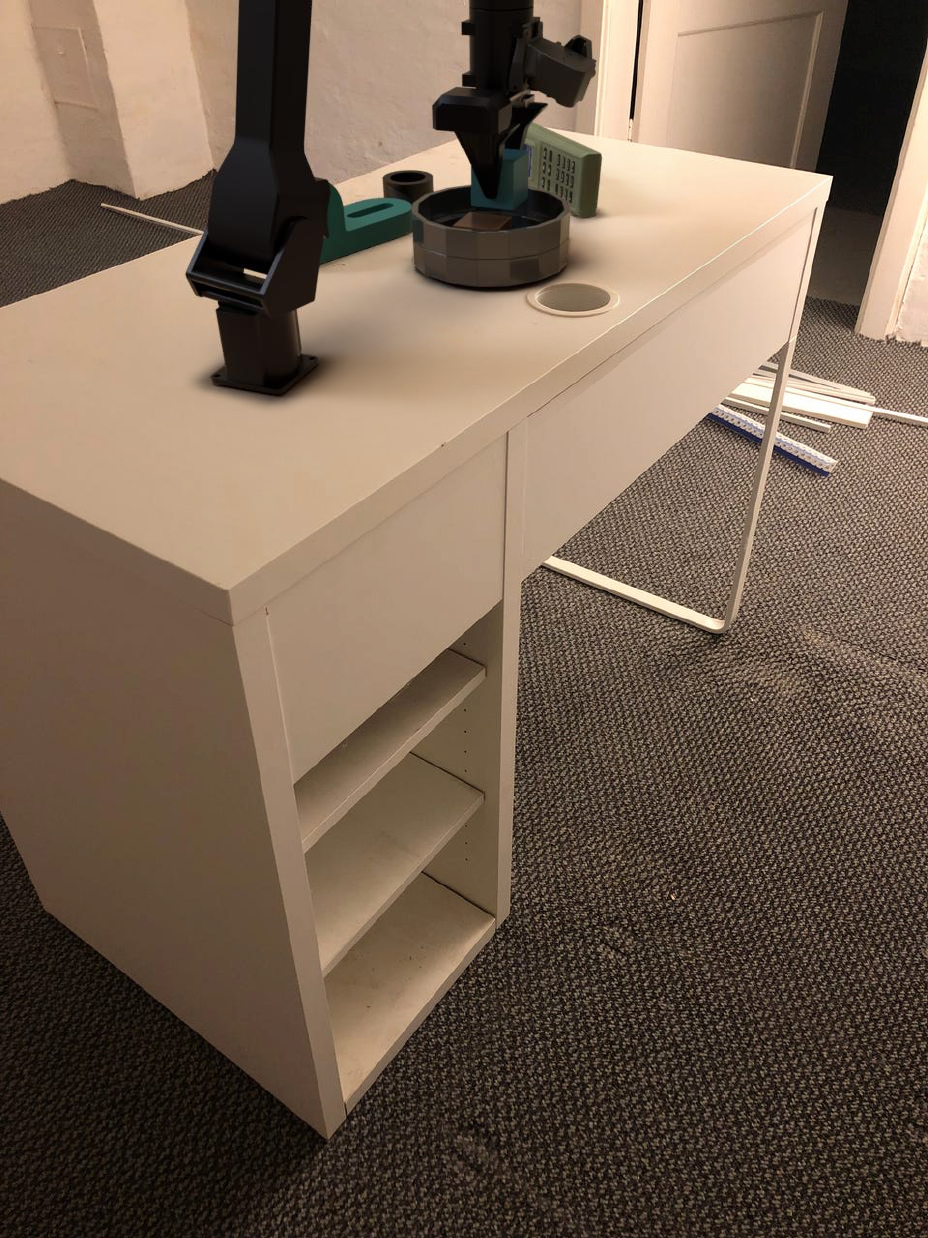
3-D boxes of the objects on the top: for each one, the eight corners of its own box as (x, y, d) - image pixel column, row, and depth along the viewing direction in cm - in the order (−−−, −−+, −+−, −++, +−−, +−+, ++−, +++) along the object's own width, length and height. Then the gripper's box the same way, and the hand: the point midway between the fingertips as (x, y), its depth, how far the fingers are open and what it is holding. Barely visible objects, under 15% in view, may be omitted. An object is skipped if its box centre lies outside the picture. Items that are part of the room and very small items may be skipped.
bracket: (296, 272, 98) (286, 188, 93) (254, 256, 102) (242, 175, 97) (425, 227, 108) (422, 149, 103) (383, 214, 112) (378, 139, 107)
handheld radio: (575, 219, 110) (477, 164, 128) (600, 216, 111) (500, 161, 129) (581, 154, 106) (479, 106, 123) (607, 151, 107) (503, 104, 125)
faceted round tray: (538, 300, 92) (540, 239, 88) (389, 279, 96) (385, 221, 93) (585, 247, 103) (588, 191, 99) (449, 231, 107) (448, 177, 104)
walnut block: (495, 277, 95) (496, 230, 92) (453, 271, 96) (452, 225, 94) (511, 262, 98) (512, 216, 95) (470, 256, 100) (469, 211, 97)
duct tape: (355, 208, 114) (353, 181, 112) (412, 187, 120) (410, 161, 118) (405, 220, 110) (404, 193, 108) (461, 198, 116) (461, 172, 114)
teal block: (513, 210, 96) (514, 161, 93) (470, 205, 97) (470, 157, 94) (528, 197, 99) (529, 150, 96) (486, 193, 100) (487, 146, 97)
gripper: (556, 27, 78) (547, 229, 88) (618, -5, 92) (605, 174, 102) (426, 20, 82) (432, 216, 92) (504, -10, 95) (502, 164, 105)
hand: (499, 191), depth 97 cm, fingers closed on teal block, 4 cm apart
